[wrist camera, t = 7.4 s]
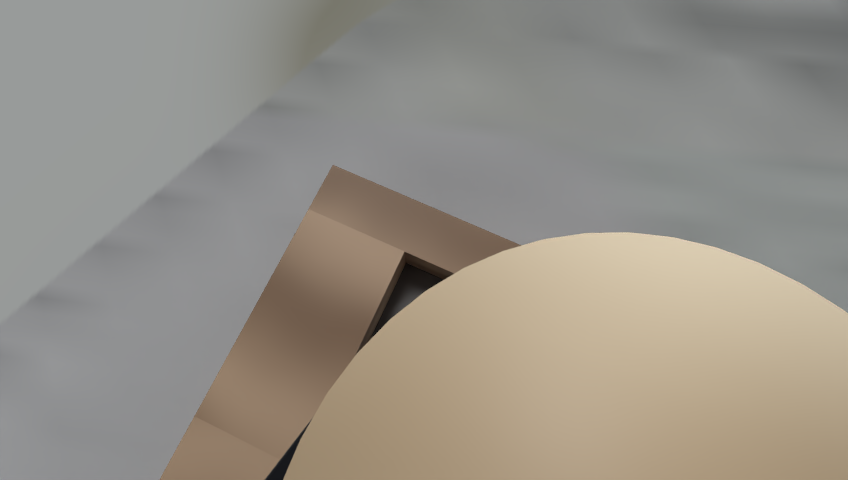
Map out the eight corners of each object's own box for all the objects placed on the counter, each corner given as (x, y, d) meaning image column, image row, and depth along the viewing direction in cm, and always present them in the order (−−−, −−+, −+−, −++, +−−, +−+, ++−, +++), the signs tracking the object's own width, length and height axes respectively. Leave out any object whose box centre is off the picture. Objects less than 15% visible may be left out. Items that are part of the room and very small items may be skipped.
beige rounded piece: (544, 479, 14) (1311, 1210, 2) (393, 495, 14) (228, 1406, 2) (522, 326, 15) (900, 207, 3) (383, 338, 15) (253, 258, 3)
